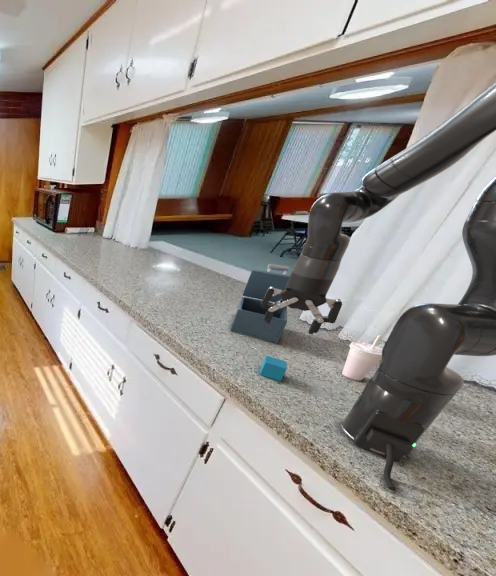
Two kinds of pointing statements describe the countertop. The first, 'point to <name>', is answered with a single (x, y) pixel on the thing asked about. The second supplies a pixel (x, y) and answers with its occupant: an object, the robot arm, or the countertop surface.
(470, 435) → the countertop surface
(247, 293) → the lid
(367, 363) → the smoothie
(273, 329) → the compartment
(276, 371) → the block
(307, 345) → the countertop surface
